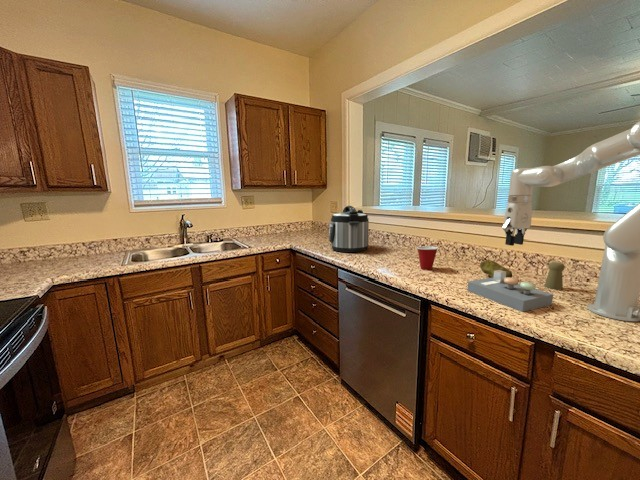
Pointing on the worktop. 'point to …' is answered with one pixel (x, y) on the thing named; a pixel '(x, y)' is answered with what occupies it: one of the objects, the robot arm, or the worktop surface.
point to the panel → (510, 294)
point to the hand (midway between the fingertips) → (514, 244)
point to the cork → (555, 276)
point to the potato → (493, 268)
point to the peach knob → (510, 282)
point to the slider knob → (499, 275)
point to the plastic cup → (426, 256)
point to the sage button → (527, 287)
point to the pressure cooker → (349, 230)
